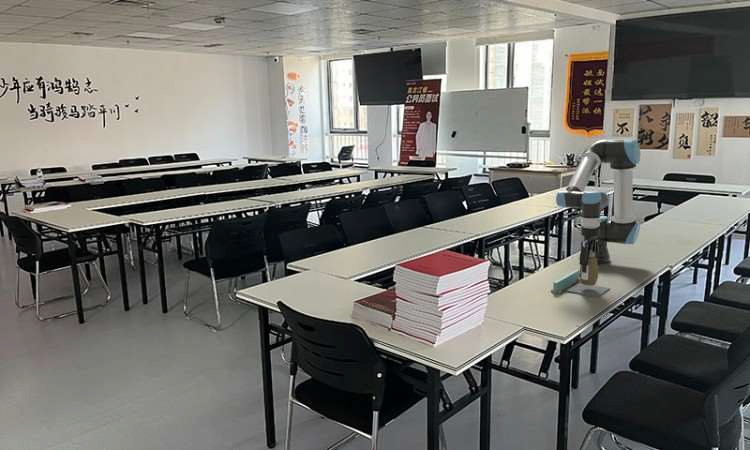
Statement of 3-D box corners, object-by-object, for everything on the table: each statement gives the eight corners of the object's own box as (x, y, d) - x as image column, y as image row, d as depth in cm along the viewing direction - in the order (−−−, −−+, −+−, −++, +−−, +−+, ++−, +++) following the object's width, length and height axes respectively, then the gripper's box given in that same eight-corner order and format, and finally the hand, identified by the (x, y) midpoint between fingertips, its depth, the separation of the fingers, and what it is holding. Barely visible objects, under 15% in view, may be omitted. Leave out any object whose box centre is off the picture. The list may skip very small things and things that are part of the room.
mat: (566, 291, 247) (566, 290, 246) (579, 283, 257) (579, 282, 256) (597, 297, 237) (597, 296, 237) (610, 289, 247) (610, 288, 247)
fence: (550, 292, 246) (550, 281, 245) (573, 279, 264) (573, 269, 263) (559, 294, 244) (559, 283, 243) (581, 280, 261) (581, 270, 260)
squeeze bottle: (581, 280, 252) (582, 241, 248) (600, 282, 247) (601, 243, 244) (576, 285, 245) (577, 245, 242) (595, 287, 241) (596, 247, 237)
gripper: (589, 231, 231) (587, 284, 236) (608, 223, 246) (606, 272, 251) (572, 229, 236) (570, 281, 241) (591, 221, 251) (589, 270, 256)
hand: (588, 276), depth 246 cm, fingers closed on squeeze bottle, 8 cm apart
